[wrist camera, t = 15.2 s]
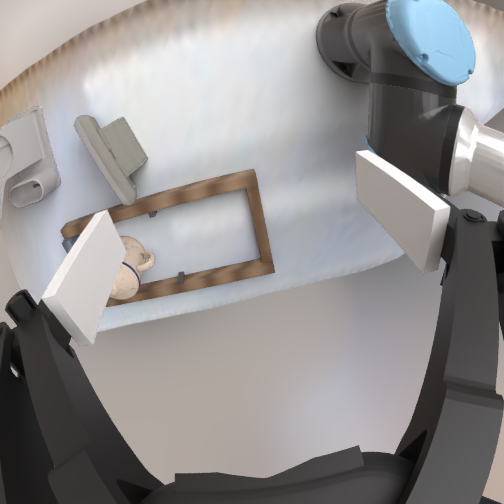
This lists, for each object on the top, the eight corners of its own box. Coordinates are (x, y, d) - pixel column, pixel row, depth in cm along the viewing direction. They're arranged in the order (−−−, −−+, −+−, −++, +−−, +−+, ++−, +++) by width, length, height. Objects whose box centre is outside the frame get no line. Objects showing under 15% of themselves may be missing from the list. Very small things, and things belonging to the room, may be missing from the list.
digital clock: (83, 117, 39) (53, 129, 30) (128, 96, 38) (105, 103, 30) (113, 196, 48) (93, 224, 39) (156, 181, 48) (143, 207, 39)
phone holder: (63, 186, 45) (14, 235, 30) (28, 198, 45) (-20, 246, 30) (40, 103, 35) (-23, 125, 20) (5, 122, 35) (-55, 151, 20)
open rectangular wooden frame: (253, 168, 48) (256, 177, 45) (272, 263, 60) (276, 277, 57) (66, 223, 49) (57, 234, 46) (108, 298, 61) (104, 311, 58)
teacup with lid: (119, 275, 58) (105, 313, 48) (99, 241, 53) (79, 277, 43) (167, 261, 57) (159, 301, 48) (149, 224, 52) (135, 260, 43)
